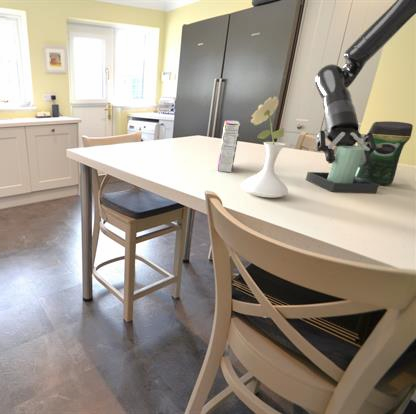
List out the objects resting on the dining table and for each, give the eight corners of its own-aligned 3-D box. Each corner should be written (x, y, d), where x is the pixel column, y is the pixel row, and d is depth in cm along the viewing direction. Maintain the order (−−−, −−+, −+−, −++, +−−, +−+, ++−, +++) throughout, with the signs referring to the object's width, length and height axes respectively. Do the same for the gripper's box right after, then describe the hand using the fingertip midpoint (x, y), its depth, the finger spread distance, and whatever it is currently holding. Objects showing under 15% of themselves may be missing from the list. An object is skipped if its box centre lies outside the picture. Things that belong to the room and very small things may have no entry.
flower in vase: (266, 186, 84) (288, 96, 74) (296, 200, 73) (327, 97, 64) (226, 188, 82) (243, 95, 72) (251, 202, 71) (276, 96, 62)
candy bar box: (217, 164, 109) (224, 120, 103) (231, 165, 107) (239, 120, 101) (216, 171, 99) (225, 123, 93) (232, 173, 98) (241, 123, 91)
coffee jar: (389, 181, 91) (414, 121, 84) (392, 187, 85) (419, 123, 78) (350, 176, 97) (371, 119, 90) (351, 181, 91) (373, 121, 84)
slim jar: (341, 181, 88) (353, 146, 84) (356, 187, 83) (370, 149, 79) (321, 180, 88) (333, 145, 84) (335, 186, 83) (348, 149, 79)
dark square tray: (343, 180, 91) (346, 173, 90) (375, 193, 80) (379, 184, 79) (305, 179, 92) (307, 171, 91) (331, 192, 80) (334, 183, 79)
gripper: (321, 109, 86) (328, 154, 80) (375, 110, 83) (387, 157, 77) (308, 125, 93) (314, 168, 87) (358, 127, 90) (367, 171, 84)
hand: (348, 163), depth 82 cm, fingers open, 8 cm apart
